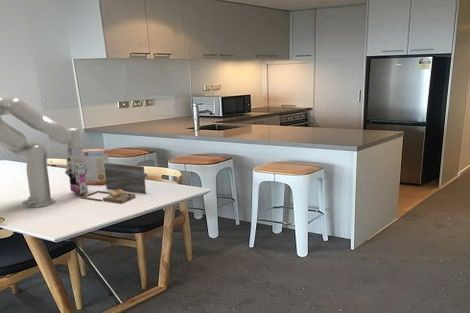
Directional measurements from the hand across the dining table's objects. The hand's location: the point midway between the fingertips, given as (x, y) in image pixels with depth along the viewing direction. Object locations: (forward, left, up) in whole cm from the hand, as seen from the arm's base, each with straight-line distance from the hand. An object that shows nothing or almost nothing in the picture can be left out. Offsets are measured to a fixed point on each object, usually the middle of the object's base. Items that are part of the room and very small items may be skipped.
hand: (78, 182), depth 222 cm
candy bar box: (0, 0, -5) cm, 5 cm away
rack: (+1, -23, -6) cm, 24 cm away
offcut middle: (-3, -29, -5) cm, 30 cm away
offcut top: (-3, -29, -3) cm, 30 cm away
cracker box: (+20, +6, -7) cm, 22 cm away
